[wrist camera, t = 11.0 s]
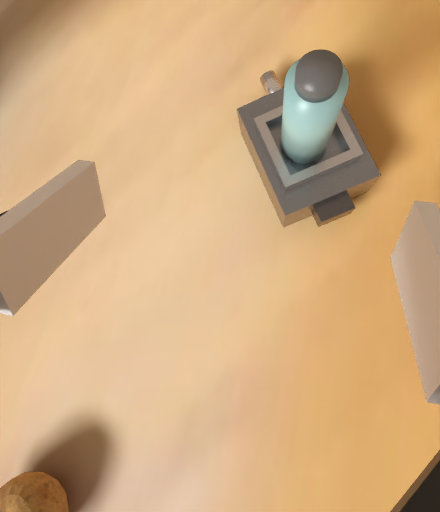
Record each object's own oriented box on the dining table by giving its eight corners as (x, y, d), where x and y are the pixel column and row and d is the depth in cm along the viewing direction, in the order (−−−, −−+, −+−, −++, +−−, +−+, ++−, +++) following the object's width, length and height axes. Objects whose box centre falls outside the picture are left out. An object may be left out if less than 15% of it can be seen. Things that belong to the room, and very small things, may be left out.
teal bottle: (273, 131, 40) (274, 57, 28) (316, 112, 39) (336, 29, 28) (291, 170, 39) (301, 112, 27) (336, 151, 38) (365, 83, 27)
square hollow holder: (230, 108, 47) (222, 74, 40) (306, 73, 46) (312, 32, 39) (289, 241, 44) (293, 230, 37) (373, 206, 43) (393, 187, 36)
